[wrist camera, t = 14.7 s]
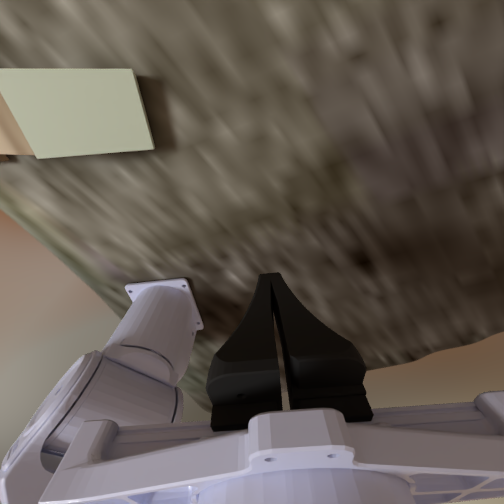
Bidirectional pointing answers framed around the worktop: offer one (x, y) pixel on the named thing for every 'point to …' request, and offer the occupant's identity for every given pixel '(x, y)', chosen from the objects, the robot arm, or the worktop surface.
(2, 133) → the domino
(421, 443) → the robot arm
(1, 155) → the domino
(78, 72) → the domino
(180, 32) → the worktop surface
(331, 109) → the worktop surface
